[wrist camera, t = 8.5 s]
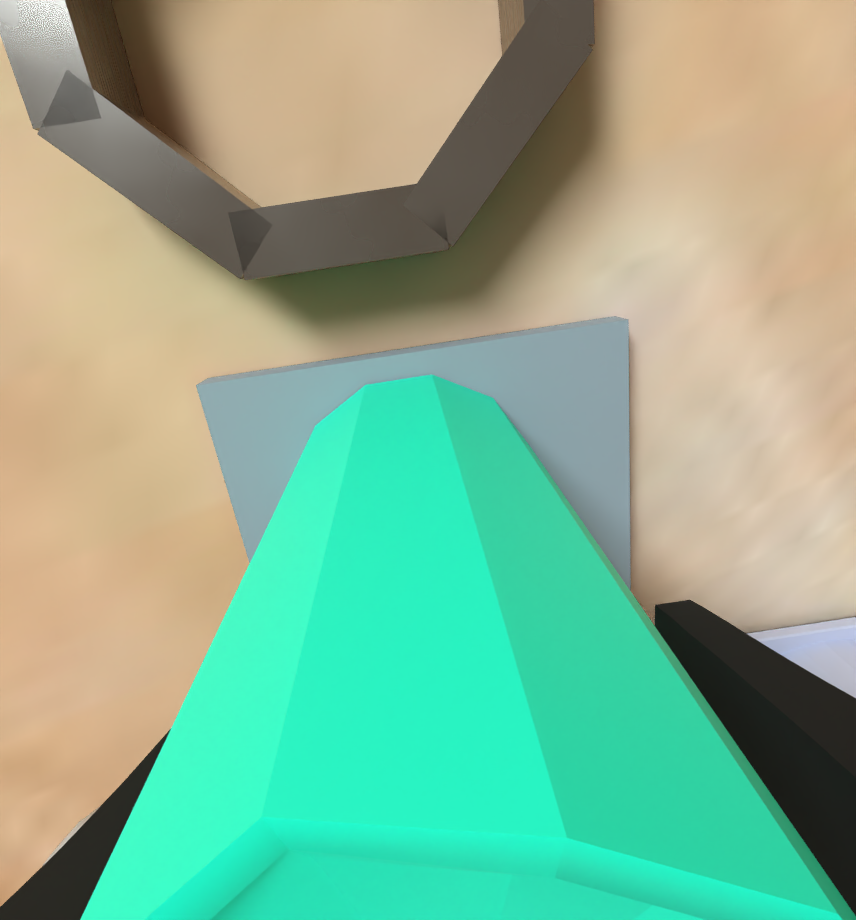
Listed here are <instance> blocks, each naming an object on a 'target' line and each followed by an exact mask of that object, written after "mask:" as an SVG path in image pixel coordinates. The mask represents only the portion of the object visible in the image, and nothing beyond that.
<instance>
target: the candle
mask: <svg viewBox="0 0 856 920" xmlns="http://www.w3.org/2000/svg"><path fill="white" fill-rule="evenodd" d="M80 920H856V916H855V914H854V913H853V911H852V910H851V909H850V907H849V906H848V904H847V903H846V901H845V900H844V898H843V897H842V896H841V894H840V893H839V891H838V890H837V888H836V887H835V885H834V884H833V883H832V881H831V880H830V878H829V877H828V875H827V874H826V872H825V871H824V870H823V868H822V867H821V865H820V864H819V862H818V861H817V859H816V858H815V857H814V855H813V854H812V852H811V851H810V849H809V848H808V846H807V845H806V844H805V842H804V841H803V839H802V838H801V836H800V835H799V834H798V832H797V831H796V829H795V828H794V826H793V825H792V823H791V822H790V821H789V819H788V818H787V816H786V815H785V813H784V812H783V810H782V809H781V808H780V806H779V805H778V803H777V802H776V800H775V799H774V797H773V796H772V795H771V793H770V792H769V790H768V789H767V787H766V786H765V784H764V783H763V782H762V780H761V779H760V777H759V776H758V774H757V773H756V771H755V770H754V769H753V767H752V766H751V764H750V763H749V761H748V760H747V758H746V757H745V756H744V754H743V753H742V751H741V750H740V748H739V747H738V746H737V744H736V743H735V741H734V740H733V738H732V737H731V735H730V734H729V733H728V731H727V730H726V728H725V727H724V725H723V724H722V722H721V721H720V720H719V718H718V717H717V715H716V714H715V712H714V711H713V709H712V708H711V707H710V705H709V704H708V702H707V701H706V699H705V698H704V696H703V695H702V694H701V692H700V691H699V689H698V688H697V686H696V685H695V683H694V682H693V681H692V679H691V678H690V676H689V675H688V673H687V672H686V670H685V669H684V668H683V666H682V665H681V663H680V662H679V660H678V659H677V658H676V656H675V655H674V653H673V652H672V650H671V649H670V647H669V646H668V645H667V643H666V642H665V640H664V639H663V637H662V636H661V634H660V633H659V632H658V630H657V629H656V627H655V626H654V624H653V623H652V621H651V620H650V619H649V617H648V616H647V614H646V613H645V611H644V610H643V608H642V607H641V606H640V604H639V603H638V601H637V600H636V598H635V597H634V595H633V594H632V593H631V591H630V590H629V588H628V587H627V585H626V584H625V582H624V581H623V580H622V578H621V577H620V575H619V574H618V572H617V571H616V569H615V568H614V567H613V565H612V564H611V562H610V561H609V559H608V558H607V557H606V555H605V554H604V552H603V551H602V549H601V548H600V546H599V545H598V544H597V542H596V541H595V539H594V538H593V536H592V535H591V533H590V532H589V531H588V529H587V528H586V526H585V525H584V523H583V522H582V520H581V519H580V518H579V516H578V515H577V513H576V512H575V510H574V509H573V507H572V506H571V505H570V503H569V502H568V500H567V499H566V497H565V496H564V494H563V493H562V492H561V490H560V489H559V487H558V486H557V484H556V483H555V481H554V480H553V479H552V477H551V476H550V474H549V473H548V471H547V470H546V469H545V467H544V466H543V464H542V463H541V461H540V460H539V458H538V457H537V456H536V454H535V453H534V451H533V450H532V448H531V447H530V445H529V444H528V443H527V442H526V440H525V439H524V438H523V436H522V435H521V434H520V432H519V431H518V430H517V429H516V427H515V426H514V425H513V423H512V422H511V421H510V419H509V418H508V417H507V415H506V414H505V413H504V412H503V410H502V409H501V408H500V406H499V405H498V404H497V402H496V401H495V400H494V399H493V398H492V397H490V396H487V395H484V394H482V393H479V392H477V391H474V390H471V389H469V388H466V387H463V386H461V385H458V384H456V383H453V382H450V381H448V380H445V379H443V378H440V377H437V376H435V375H432V374H431V375H425V376H419V377H412V378H406V379H399V380H393V381H387V382H380V383H374V384H367V385H365V386H363V387H362V388H361V389H360V390H358V391H357V392H356V393H355V394H354V395H352V396H351V397H350V398H349V399H347V400H346V401H345V402H344V403H342V404H341V405H340V406H339V407H338V408H336V409H335V410H334V411H333V412H331V413H330V414H329V415H328V416H326V417H325V418H324V419H323V420H322V421H320V422H319V423H318V424H317V425H315V427H314V429H313V432H312V434H311V436H310V438H309V440H308V442H307V444H306V446H305V448H304V450H303V453H302V455H301V457H300V459H299V461H298V463H297V465H296V467H295V469H294V471H293V474H292V476H291V478H290V480H289V482H288V484H287V486H286V488H285V490H284V492H283V495H282V497H281V499H280V501H279V503H278V505H277V507H276V509H275V511H274V514H273V516H272V518H271V520H270V522H269V524H268V526H267V528H266V530H265V532H264V535H263V537H262V539H261V541H260V543H259V545H258V547H257V549H256V551H255V553H254V556H253V558H252V560H251V562H250V564H249V566H248V568H247V570H246V572H245V574H244V577H243V579H242V581H241V583H240V585H239V587H238V589H237V591H236V593H235V596H234V598H233V600H232V602H231V604H230V606H229V608H228V610H227V612H226V614H225V617H224V619H223V621H222V623H221V625H220V627H219V629H218V631H217V633H216V635H215V638H214V640H213V642H212V644H211V646H210V648H209V650H208V652H207V654H206V656H205V659H204V661H203V663H202V665H201V667H200V669H199V671H198V673H197V675H196V677H195V680H194V682H193V684H192V686H191V688H190V690H189V692H188V694H187V696H186V699H185V701H184V703H183V705H182V707H181V709H180V711H179V713H178V715H177V717H176V720H175V722H174V724H173V726H172V728H171V730H170V732H169V734H168V736H167V738H166V741H165V743H164V745H163V747H162V749H161V751H160V753H159V755H158V757H157V759H156V762H155V764H154V766H153V768H152V770H151V772H150V774H149V776H148V778H147V781H146V783H145V785H144V787H143V789H142V791H141V793H140V795H139V797H138V799H137V802H136V804H135V806H134V808H133V810H132V812H131V814H130V816H129V818H128V820H127V823H126V825H125V827H124V829H123V831H122V833H121V835H120V837H119V839H118V841H117V844H116V846H115V848H114V850H113V852H112V854H111V856H110V858H109V860H108V863H107V865H106V867H105V869H104V871H103V873H102V875H101V877H100V879H99V881H98V884H97V886H96V888H95V890H94V892H93V894H92V896H91V898H90V900H89V902H88V905H87V907H86V909H85V911H84V913H83V915H82V917H81V919H80Z"/></svg>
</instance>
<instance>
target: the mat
mask: <svg viewBox="0 0 856 920" xmlns="http://www.w3.org/2000/svg"><path fill="white" fill-rule="evenodd" d="M431 374H432V375H435V376H437V377H440V378H443V379H445V380H448V381H450V382H453V383H456V384H458V385H461V386H463V387H466V388H469V389H471V390H474V391H477V392H479V393H482V394H484V395H487V396H490V397H492V398H493V399H494V400H495V401H496V402H497V404H498V405H499V406H500V408H501V409H502V410H503V412H504V413H505V414H506V415H507V417H508V418H509V419H510V421H511V422H512V423H513V425H514V426H515V427H516V429H517V430H518V431H519V432H520V434H521V435H522V436H523V438H524V439H525V440H526V442H527V443H528V444H529V445H530V447H531V448H532V450H533V451H534V453H535V454H536V456H537V457H538V458H539V460H540V461H541V463H542V464H543V466H544V467H545V469H546V470H547V471H548V473H549V474H550V476H551V477H552V479H553V480H554V481H555V483H556V484H557V486H558V487H559V489H560V490H561V492H562V493H563V494H564V496H565V497H566V499H567V500H568V502H569V503H570V505H571V506H572V507H573V509H574V510H575V512H576V513H577V515H578V516H579V518H580V519H581V520H582V522H583V523H584V525H585V526H586V528H587V529H588V531H589V532H590V533H591V535H592V536H593V538H594V539H595V541H596V542H597V544H598V545H599V546H600V548H601V549H602V551H603V552H604V554H605V555H606V557H607V558H608V559H609V561H610V562H611V564H612V565H613V567H614V568H615V569H616V571H617V572H618V574H619V575H620V577H621V578H622V580H623V581H624V582H625V584H626V585H627V587H628V588H629V590H630V591H631V580H630V456H629V332H628V319H624V318H620V317H616V316H614V317H607V318H601V319H594V320H588V321H581V322H575V323H568V324H561V325H555V326H548V327H542V328H535V329H529V330H522V331H515V332H509V333H502V334H496V335H489V336H482V337H476V338H469V339H463V340H456V341H450V342H443V343H436V344H430V345H423V346H417V347H410V348H404V349H397V350H390V351H384V352H377V353H371V354H364V355H358V356H351V357H344V358H338V359H331V360H325V361H318V362H311V363H305V364H298V365H292V366H285V367H279V368H272V369H265V370H259V371H252V372H246V373H239V374H233V375H226V376H219V377H213V378H207V379H206V380H204V381H202V382H201V383H199V384H197V385H196V387H197V390H198V394H199V397H200V400H201V403H202V407H203V410H204V413H205V417H206V420H207V423H208V427H209V430H210V433H211V437H212V440H213V443H214V447H215V450H216V453H217V457H218V460H219V463H220V467H221V470H222V473H223V476H224V480H225V483H226V486H227V490H228V493H229V496H230V500H231V503H232V506H233V510H234V513H235V516H236V520H237V523H238V526H239V530H240V533H241V536H242V539H243V543H244V546H245V549H246V553H247V556H248V559H249V563H250V562H251V560H252V558H253V556H254V553H255V551H256V549H257V547H258V545H259V543H260V541H261V539H262V537H263V535H264V532H265V530H266V528H267V526H268V524H269V522H270V520H271V518H272V516H273V514H274V511H275V509H276V507H277V505H278V503H279V501H280V499H281V497H282V495H283V492H284V490H285V488H286V486H287V484H288V482H289V480H290V478H291V476H292V474H293V471H294V469H295V467H296V465H297V463H298V461H299V459H300V457H301V455H302V453H303V450H304V448H305V446H306V444H307V442H308V440H309V438H310V436H311V434H312V432H313V429H314V427H315V425H317V424H318V423H319V422H320V421H322V420H323V419H324V418H325V417H326V416H328V415H329V414H330V413H331V412H333V411H334V410H335V409H336V408H338V407H339V406H340V405H341V404H342V403H344V402H345V401H346V400H347V399H349V398H350V397H351V396H352V395H354V394H355V393H356V392H357V391H358V390H360V389H361V388H362V387H363V386H365V385H367V384H374V383H380V382H387V381H393V380H399V379H406V378H412V377H419V376H425V375H431Z"/></svg>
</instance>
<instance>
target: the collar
mask: <svg viewBox="0 0 856 920" xmlns="http://www.w3.org/2000/svg"><path fill="white" fill-rule="evenodd" d="M498 6H499V19H500V32H501V45H502V57H501V59H500V60H499V62H498V63H497V65H496V66H495V68H494V69H493V71H492V72H491V74H490V75H489V77H488V78H487V80H486V81H485V83H484V84H483V86H482V87H481V89H480V90H479V92H478V93H477V95H476V96H475V98H474V99H473V101H472V102H471V104H470V105H469V107H468V108H467V110H466V111H465V113H464V114H463V116H462V117H461V119H460V120H459V122H458V123H457V125H456V126H455V128H454V129H453V131H452V132H451V134H450V135H449V137H448V138H447V140H446V141H445V143H444V144H443V146H442V147H441V149H440V150H439V152H438V153H437V155H436V156H435V158H434V159H433V161H432V162H431V164H430V165H429V167H428V168H427V170H426V171H425V173H424V174H423V176H422V177H421V179H420V180H419V182H418V183H417V184H413V185H407V186H400V187H394V188H387V189H380V190H374V191H367V192H361V193H354V194H347V195H341V196H334V197H328V198H321V199H315V200H308V201H301V202H295V203H288V204H282V205H275V206H268V207H260V206H259V205H258V204H256V203H255V202H254V201H252V200H251V199H250V198H248V197H247V196H246V195H245V194H243V193H242V192H241V191H239V190H238V189H237V188H235V187H234V186H233V185H231V184H230V183H229V182H227V181H226V180H225V179H223V178H222V177H221V176H220V175H218V174H217V173H216V172H214V171H213V170H212V169H210V168H209V167H208V166H206V165H205V164H204V163H202V162H201V161H200V160H198V159H197V158H196V157H195V156H193V155H192V154H191V153H189V152H188V151H187V150H185V149H184V148H183V147H181V146H180V145H179V144H177V143H176V142H175V141H174V140H172V139H171V138H170V137H168V136H167V135H166V134H164V133H163V132H162V131H160V130H159V129H158V128H156V127H155V126H154V125H152V124H151V123H150V122H149V121H147V120H146V119H145V118H144V115H143V112H142V108H141V105H140V101H139V98H138V94H137V91H136V87H135V84H134V80H133V77H132V73H131V70H130V66H129V63H128V59H127V56H126V52H125V49H124V45H123V42H122V38H121V35H120V31H119V28H118V24H117V21H116V17H115V14H114V10H113V7H112V3H111V0H0V35H1V38H2V41H3V44H4V46H5V49H6V52H7V55H8V58H9V61H10V64H11V66H12V69H13V72H14V75H15V78H16V81H17V84H18V86H19V89H20V92H21V95H22V98H23V101H24V103H25V106H26V109H27V112H28V115H29V118H30V121H31V123H32V126H33V129H35V130H38V131H39V132H38V135H39V136H41V137H42V138H44V139H45V140H46V141H48V142H49V143H51V144H52V145H53V146H55V147H56V148H58V149H59V150H60V151H62V152H63V153H65V154H66V155H67V156H69V157H70V158H72V159H73V160H74V161H76V162H77V163H79V164H80V165H81V166H83V167H84V168H86V169H87V170H88V171H90V172H91V173H93V174H94V175H95V176H97V177H98V178H100V179H101V180H102V181H104V182H105V183H107V184H108V185H109V186H111V187H112V188H114V189H115V190H116V191H118V192H119V193H121V194H122V195H123V196H125V197H126V198H128V199H129V200H130V201H132V202H133V203H135V204H136V205H137V206H139V207H140V208H142V209H143V210H144V211H146V212H147V213H149V214H150V215H151V216H153V217H154V218H156V219H157V220H158V221H160V222H161V223H163V224H164V225H165V226H167V227H168V228H170V229H171V230H172V231H174V232H175V233H177V234H178V235H179V236H181V237H182V238H184V239H185V240H186V241H188V242H189V243H191V244H192V245H193V246H195V247H196V248H198V249H199V250H200V251H202V252H203V253H205V254H206V255H207V256H209V257H210V258H212V259H213V260H214V261H216V262H217V263H219V264H220V265H221V266H223V267H224V268H226V269H227V270H228V271H230V272H231V273H233V274H234V275H235V276H237V277H238V278H240V279H243V278H245V280H250V279H259V278H268V277H275V276H282V275H288V274H295V273H301V272H308V271H315V270H321V269H328V268H334V267H341V266H347V265H354V264H361V263H367V262H374V261H380V260H387V259H394V258H400V257H407V256H413V255H420V254H426V253H433V252H440V251H444V250H447V249H449V248H450V247H453V246H454V244H455V243H456V242H457V240H458V239H459V237H460V236H461V234H462V233H463V232H464V230H465V229H466V227H467V226H468V225H469V223H470V222H471V220H472V219H473V218H474V216H475V215H476V213H477V212H478V211H479V209H480V208H481V206H482V205H483V204H484V202H485V201H486V199H487V198H488V196H489V195H490V194H491V192H492V191H493V189H494V188H495V187H496V185H497V184H498V182H499V181H500V180H501V178H502V177H503V175H504V174H505V173H506V171H507V170H508V168H509V167H510V165H511V164H512V163H513V161H514V160H515V158H516V157H517V156H518V154H519V153H520V151H521V150H522V149H523V147H524V146H525V144H526V143H527V142H528V140H529V139H530V137H531V136H532V135H533V133H534V132H535V130H536V129H537V127H538V126H539V125H540V123H541V122H542V120H543V119H544V118H545V116H546V115H547V113H548V112H549V111H550V109H551V108H552V106H553V105H554V104H555V102H556V101H557V99H558V98H559V96H560V95H561V94H562V92H563V91H564V89H565V88H566V87H567V85H568V84H569V82H570V81H571V80H572V78H573V77H574V75H575V74H576V73H577V71H578V70H579V68H580V67H581V66H582V64H583V63H584V61H585V60H586V58H587V57H588V56H589V54H590V53H591V51H592V49H591V47H592V46H593V45H594V44H595V42H594V3H593V0H498Z"/></svg>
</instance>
